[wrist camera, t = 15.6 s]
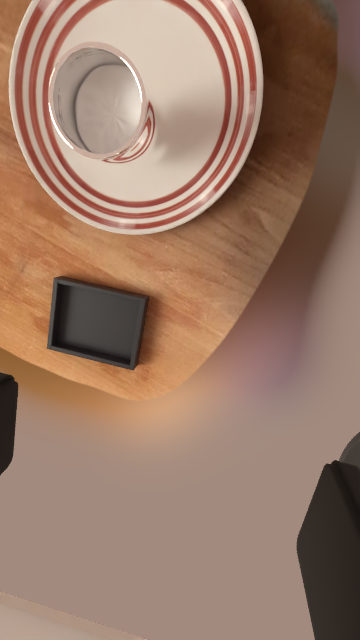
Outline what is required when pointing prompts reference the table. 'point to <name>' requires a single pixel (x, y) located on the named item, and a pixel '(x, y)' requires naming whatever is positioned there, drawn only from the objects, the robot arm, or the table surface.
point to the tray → (96, 322)
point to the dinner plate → (173, 94)
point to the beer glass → (107, 107)
